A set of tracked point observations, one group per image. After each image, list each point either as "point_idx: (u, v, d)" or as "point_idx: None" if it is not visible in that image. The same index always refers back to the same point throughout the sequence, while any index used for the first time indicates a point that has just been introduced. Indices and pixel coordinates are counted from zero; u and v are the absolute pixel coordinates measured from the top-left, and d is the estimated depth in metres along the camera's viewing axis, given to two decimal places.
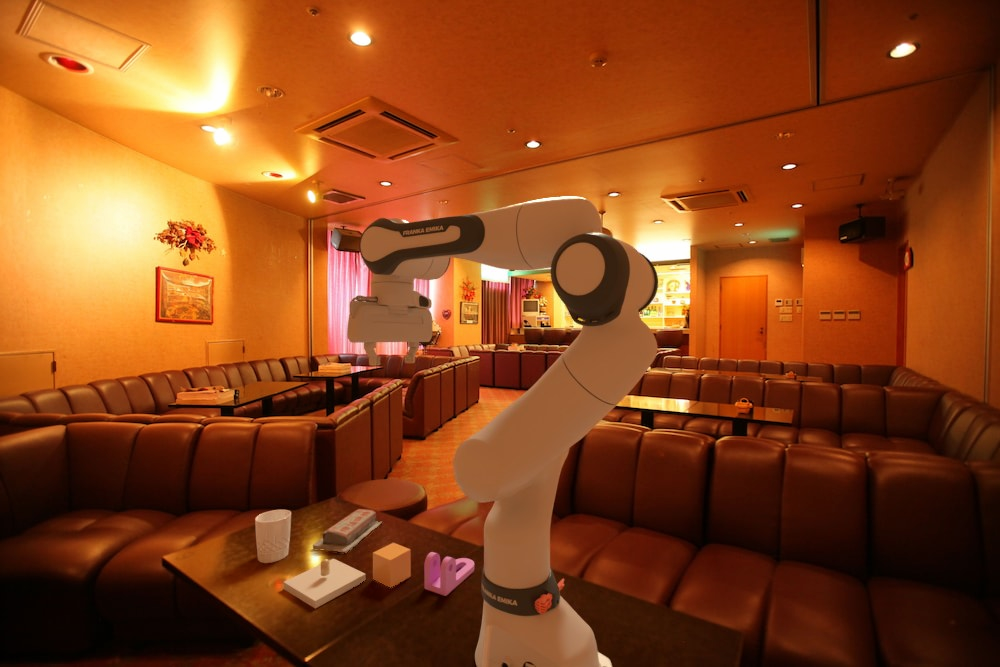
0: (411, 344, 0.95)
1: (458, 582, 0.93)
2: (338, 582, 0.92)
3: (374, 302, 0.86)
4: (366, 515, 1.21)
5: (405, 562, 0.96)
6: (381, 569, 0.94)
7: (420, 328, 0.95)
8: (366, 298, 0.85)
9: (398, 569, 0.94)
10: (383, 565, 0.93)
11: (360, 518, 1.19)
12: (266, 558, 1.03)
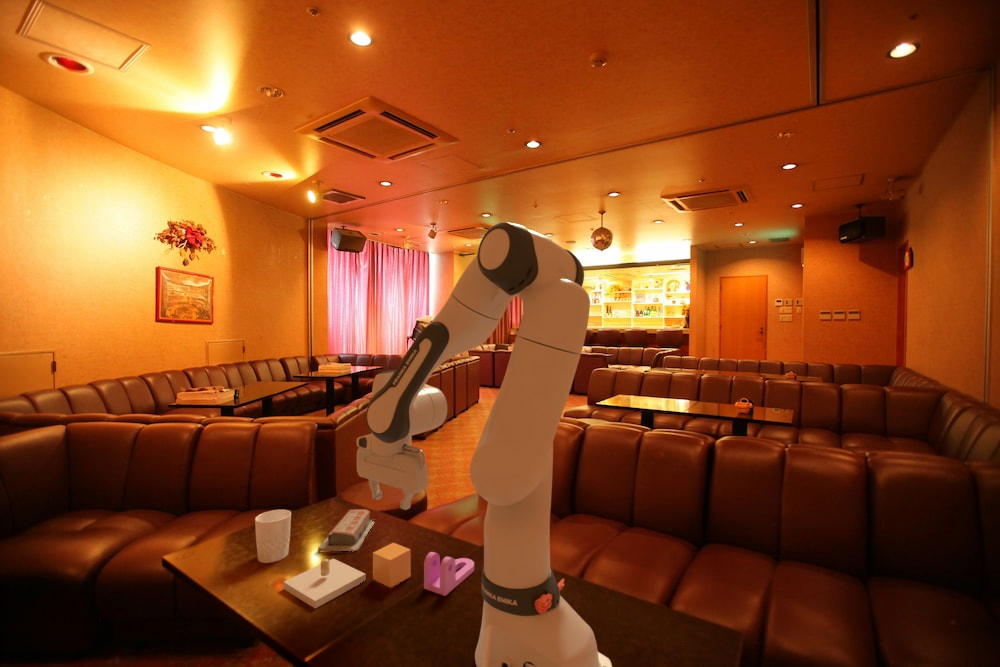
0: None
1: (458, 582, 0.93)
2: (338, 582, 0.92)
3: None
4: (363, 514, 1.22)
5: (405, 562, 0.96)
6: (381, 569, 0.94)
7: None
8: None
9: (398, 569, 0.94)
10: (383, 565, 0.93)
11: (359, 517, 1.20)
12: (266, 558, 1.03)
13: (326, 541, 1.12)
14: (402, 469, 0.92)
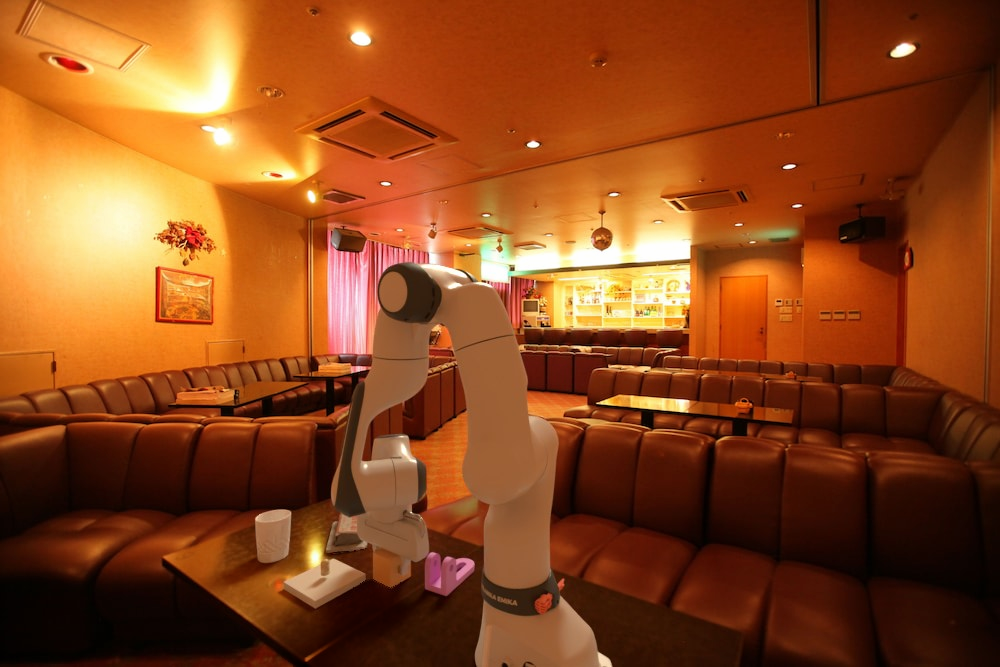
0: None
1: (458, 582, 0.93)
2: (338, 582, 0.92)
3: None
4: None
5: None
6: (381, 569, 0.94)
7: None
8: None
9: None
10: (383, 565, 0.93)
11: (356, 517, 1.20)
12: (266, 558, 1.03)
13: (330, 543, 1.11)
14: (402, 536, 0.92)
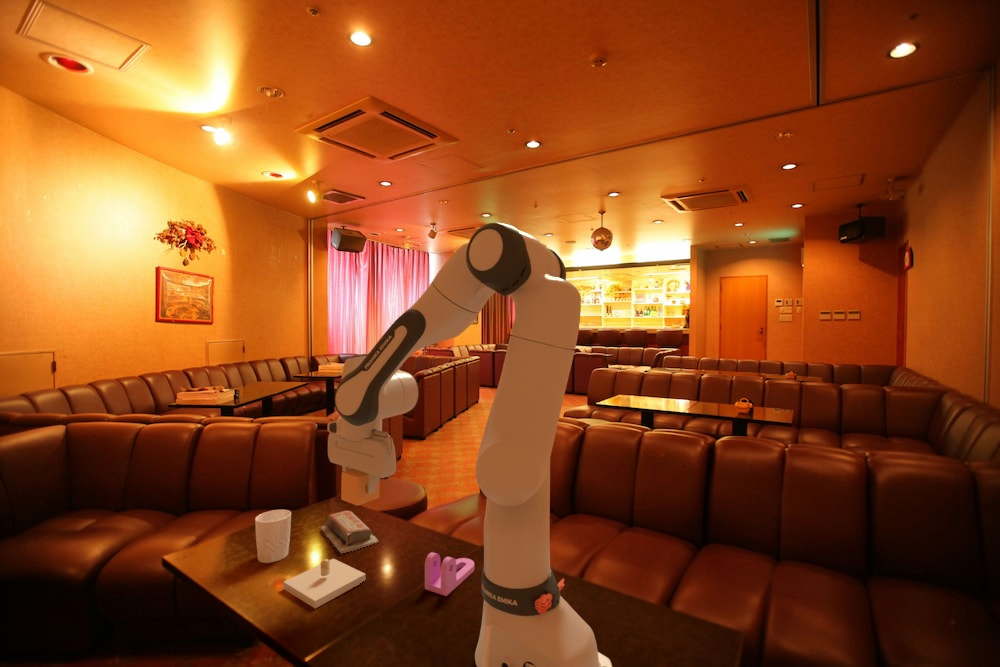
0: None
1: (458, 582, 0.93)
2: (338, 582, 0.92)
3: None
4: (351, 514, 1.22)
5: None
6: (349, 487, 0.94)
7: None
8: None
9: None
10: (351, 483, 0.93)
11: (352, 517, 1.20)
12: (266, 558, 1.03)
13: (339, 544, 1.10)
14: (370, 454, 0.92)
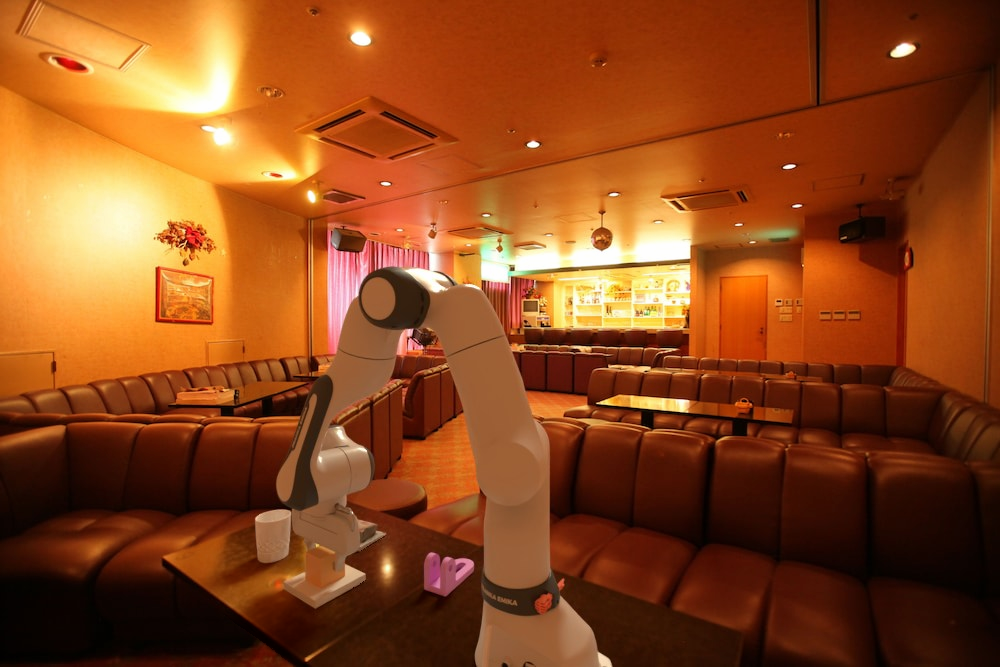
0: None
1: (458, 582, 0.93)
2: (338, 582, 0.92)
3: None
4: None
5: None
6: (312, 568, 0.91)
7: None
8: None
9: (330, 568, 0.91)
10: (314, 564, 0.91)
11: None
12: (266, 558, 1.03)
13: None
14: (333, 530, 0.90)
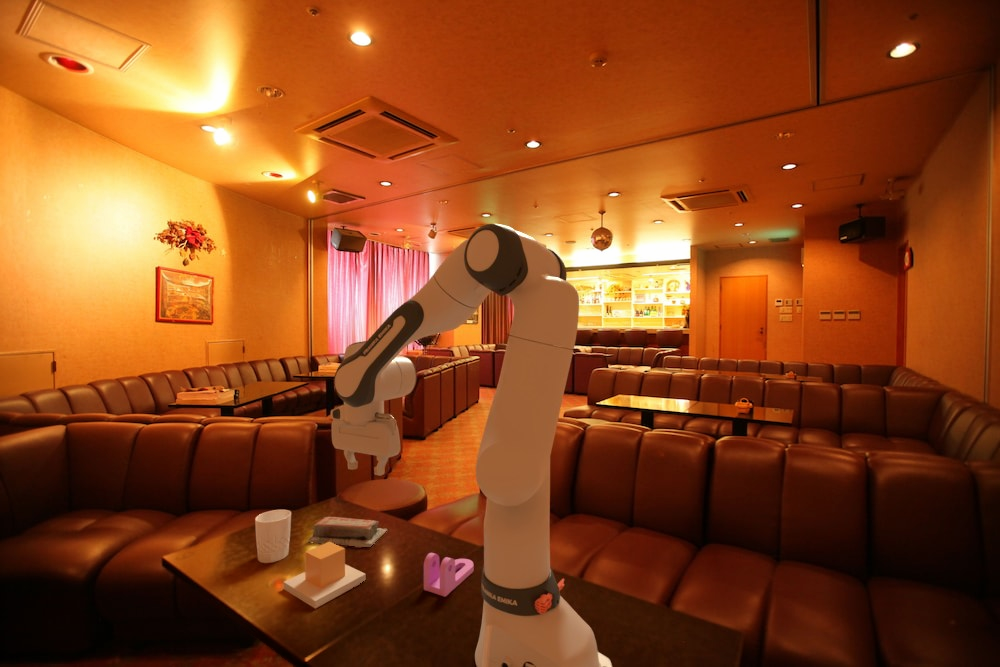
0: (351, 451, 1.02)
1: (457, 583, 0.93)
2: (338, 582, 0.92)
3: None
4: (337, 517, 1.20)
5: (339, 561, 0.93)
6: (312, 568, 0.91)
7: None
8: None
9: (330, 568, 0.91)
10: (314, 564, 0.91)
11: (343, 518, 1.19)
12: (266, 558, 1.03)
13: (359, 541, 1.12)
14: (374, 436, 0.95)
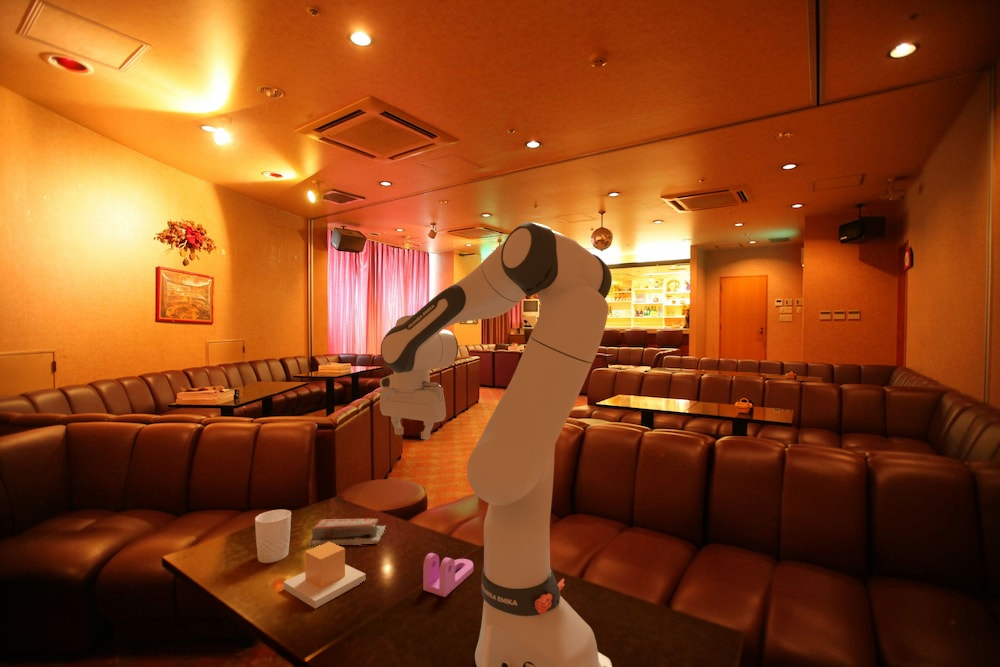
0: (398, 417, 1.10)
1: (457, 583, 0.93)
2: (338, 582, 0.92)
3: None
4: (334, 519, 1.19)
5: (339, 561, 0.93)
6: (312, 568, 0.91)
7: None
8: None
9: (330, 568, 0.91)
10: (314, 564, 0.91)
11: (341, 519, 1.18)
12: (266, 558, 1.03)
13: (365, 539, 1.13)
14: (422, 402, 1.03)
